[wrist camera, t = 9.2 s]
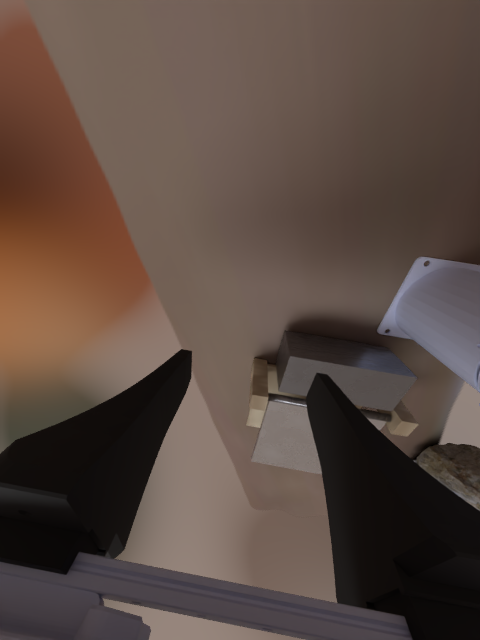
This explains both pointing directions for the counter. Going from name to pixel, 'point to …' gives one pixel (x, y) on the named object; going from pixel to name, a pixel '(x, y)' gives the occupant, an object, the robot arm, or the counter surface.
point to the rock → (454, 469)
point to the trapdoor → (349, 375)
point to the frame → (267, 383)
